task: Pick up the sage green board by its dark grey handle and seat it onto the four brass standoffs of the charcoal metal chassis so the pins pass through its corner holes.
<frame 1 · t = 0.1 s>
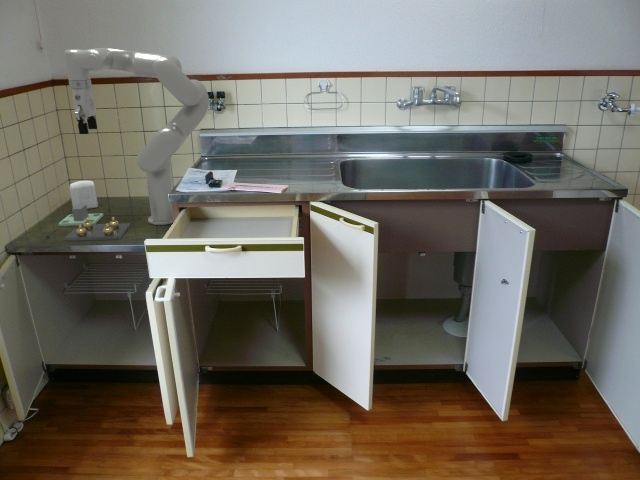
hand: (88, 131, 202), 37 cm above the worktop, tool pointing down, fingers open, 9 cm apart
board: (81, 220, 217), on the worktop
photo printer: (86, 208, 232), on the worktop
chassis: (98, 233, 204), on the worktop
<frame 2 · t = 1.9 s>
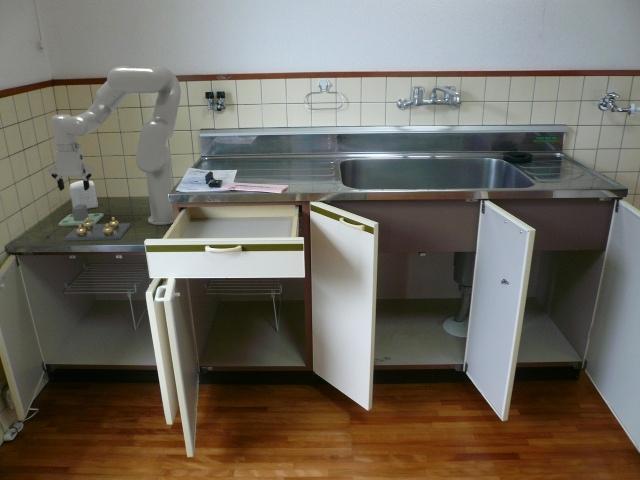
hand: (74, 189, 212), 13 cm above the worktop, tool pointing down, fingers open, 9 cm apart
nothing on the worktop moved.
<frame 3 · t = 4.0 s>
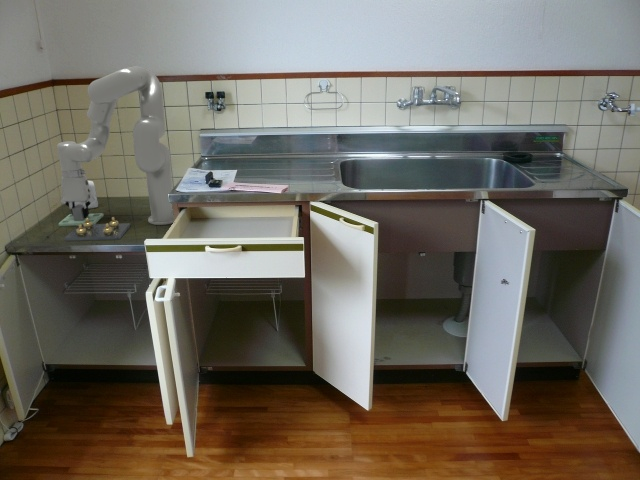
hand: (81, 216, 216), 2 cm above the worktop, tool pointing down, fingers closed on board, 3 cm apart
board: (81, 220, 217), on the worktop, touching gripper
everything else where it was.
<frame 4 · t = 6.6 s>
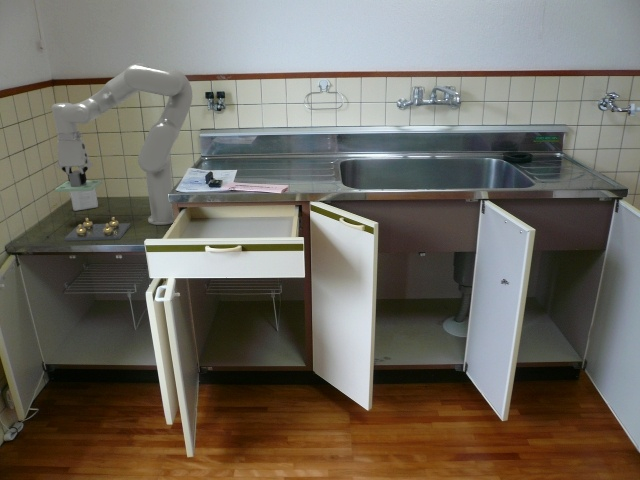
hand: (78, 182, 208), 17 cm above the worktop, tool pointing down, fingers closed on board, 3 cm apart
board: (79, 187, 208), point 15 cm above the worktop, touching gripper
everything else where it was.
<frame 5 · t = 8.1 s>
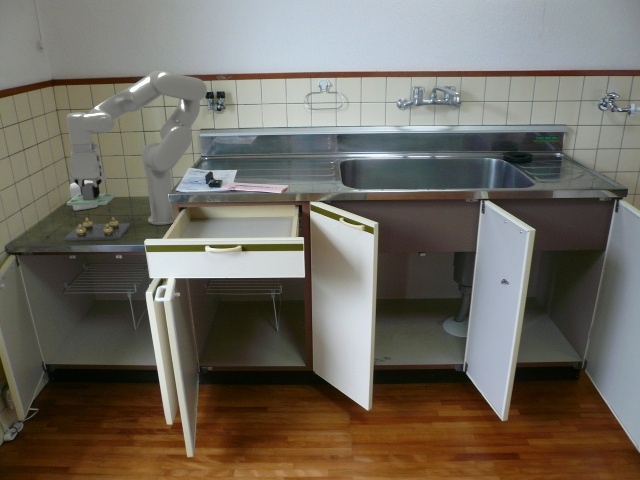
hand: (91, 196, 198), 15 cm above the worktop, tool pointing down, fingers closed on board, 3 cm apart
board: (91, 200, 198), point 13 cm above the worktop, touching gripper
everything else where it was.
when the fingers open (6 cm above the worktop, at t = 9.5 s): board stays where it is, resting on chassis.
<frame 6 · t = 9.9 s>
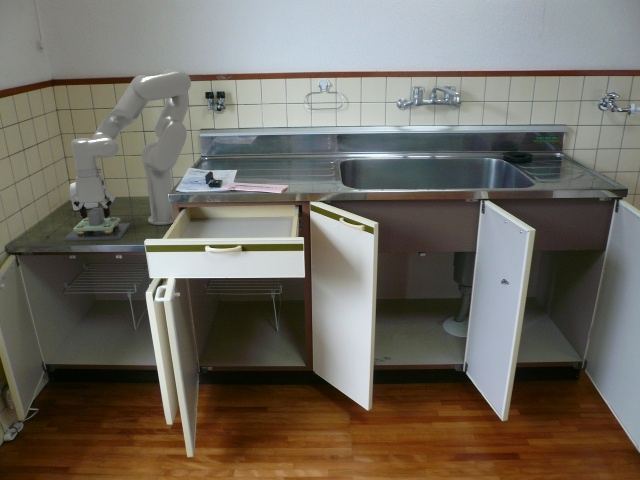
hand: (96, 217, 201), 7 cm above the worktop, tool pointing down, fingers open, 7 cm apart
board: (97, 225, 202), point 3 cm above the worktop, touching chassis
everything else where it was.
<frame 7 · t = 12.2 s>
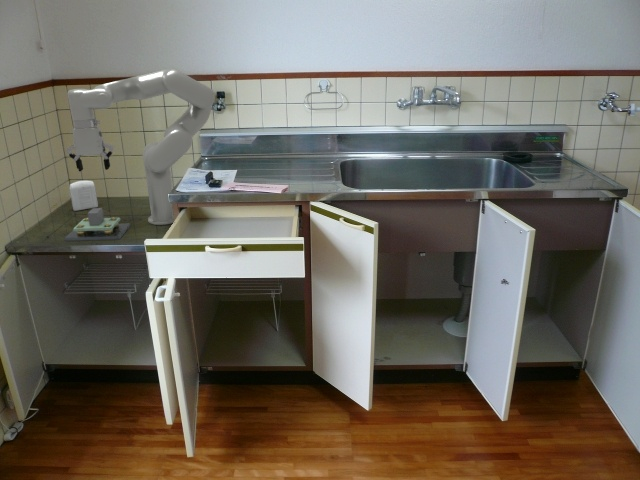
hand: (94, 169, 200), 24 cm above the worktop, tool pointing down, fingers open, 9 cm apart
nothing on the worktop moved.
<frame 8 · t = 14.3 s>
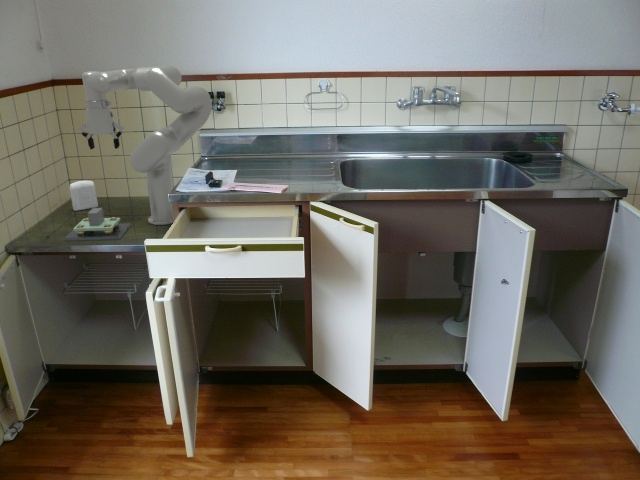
hand: (104, 148, 212), 28 cm above the worktop, tool pointing down, fingers open, 9 cm apart
nothing on the worktop moved.
at the end: board 0.0 cm off-centre on the chassis, point 3.2 cm above the chassis's base; board tilted 0°; the gripper is holding nothing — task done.
